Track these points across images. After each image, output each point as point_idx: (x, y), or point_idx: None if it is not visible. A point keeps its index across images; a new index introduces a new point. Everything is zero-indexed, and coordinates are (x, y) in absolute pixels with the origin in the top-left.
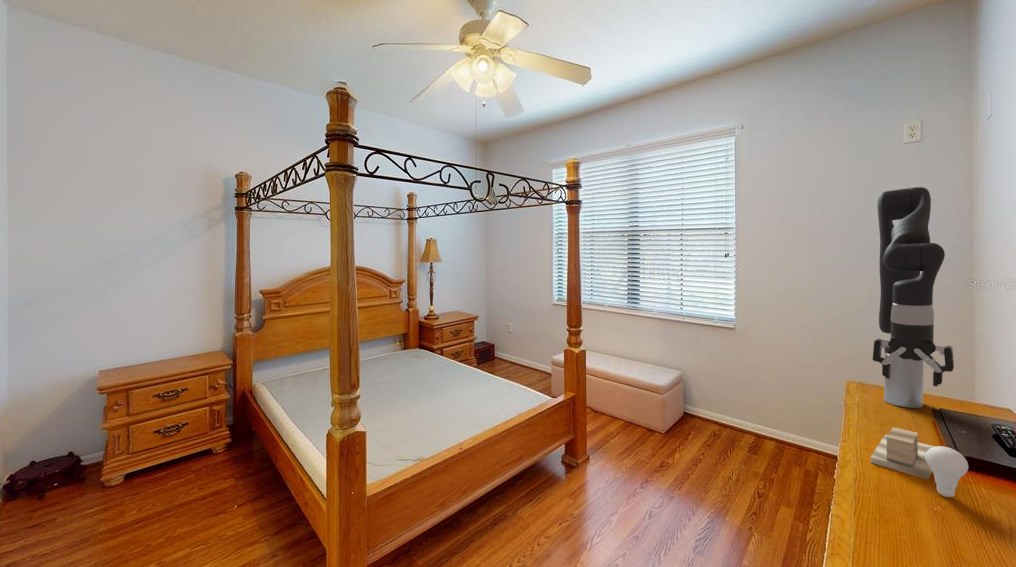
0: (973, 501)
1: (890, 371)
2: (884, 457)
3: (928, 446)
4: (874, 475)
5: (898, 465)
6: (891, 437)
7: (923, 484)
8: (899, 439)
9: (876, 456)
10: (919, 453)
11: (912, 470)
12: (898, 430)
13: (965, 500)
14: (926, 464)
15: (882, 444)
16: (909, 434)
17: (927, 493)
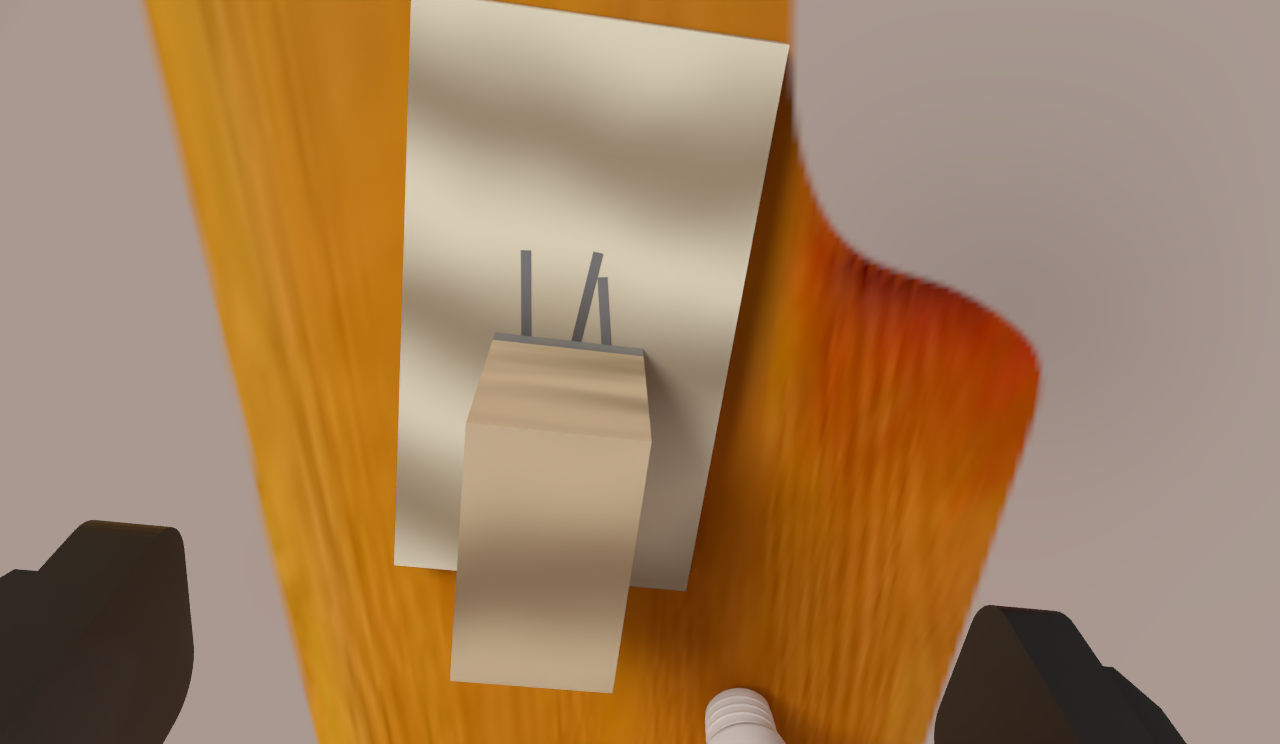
0: (838, 670)
1: (88, 677)
2: None
3: (722, 81)
4: (445, 685)
5: None
6: (479, 669)
7: (655, 636)
8: (530, 678)
9: (422, 537)
10: (654, 294)
11: None
12: (512, 482)
13: (807, 682)
14: (683, 467)
15: (425, 285)
16: (591, 526)
17: (666, 716)
